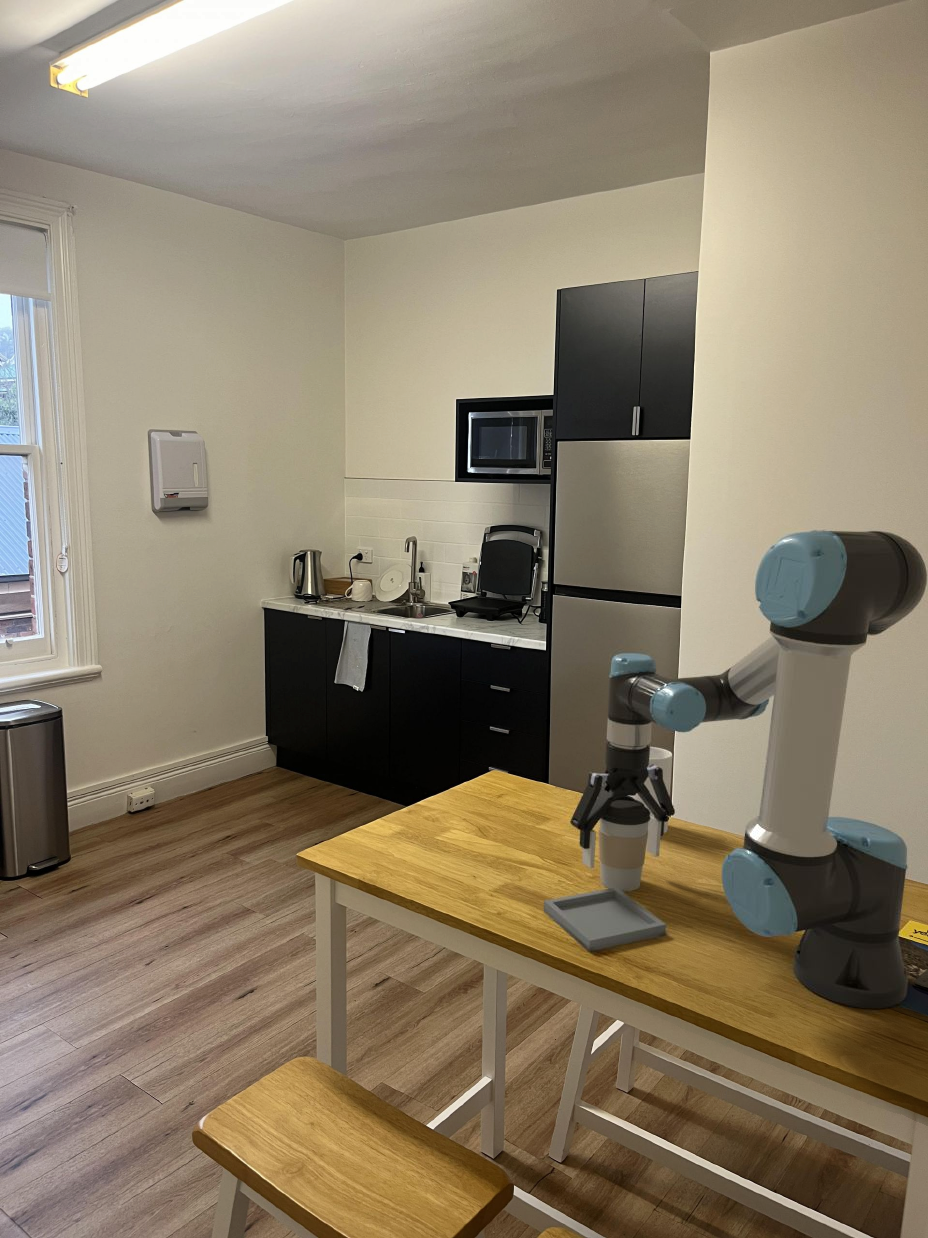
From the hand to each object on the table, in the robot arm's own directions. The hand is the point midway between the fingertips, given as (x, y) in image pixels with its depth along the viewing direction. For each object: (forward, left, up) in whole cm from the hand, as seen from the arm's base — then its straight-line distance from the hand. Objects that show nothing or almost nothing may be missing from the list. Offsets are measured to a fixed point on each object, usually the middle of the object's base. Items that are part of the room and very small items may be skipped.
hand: (620, 859), depth 161 cm
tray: (-12, +11, -4) cm, 17 cm away
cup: (+20, -20, -5) cm, 29 cm away
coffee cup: (0, 0, -5) cm, 5 cm away
